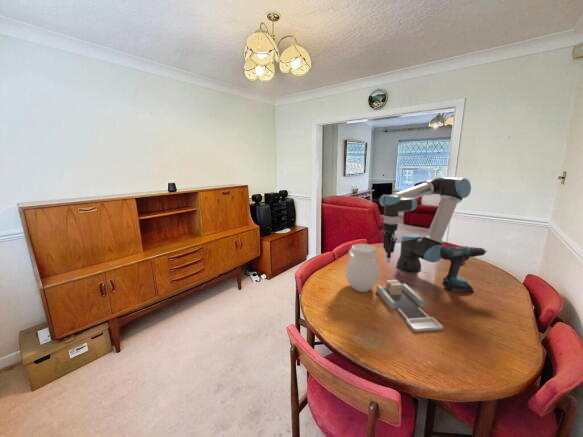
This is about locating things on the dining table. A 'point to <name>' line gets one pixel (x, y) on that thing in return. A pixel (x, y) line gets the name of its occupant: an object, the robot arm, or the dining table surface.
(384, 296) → the channel
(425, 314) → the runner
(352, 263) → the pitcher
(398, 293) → the block
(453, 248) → the power drill
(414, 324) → the tray
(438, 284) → the dining table surface
